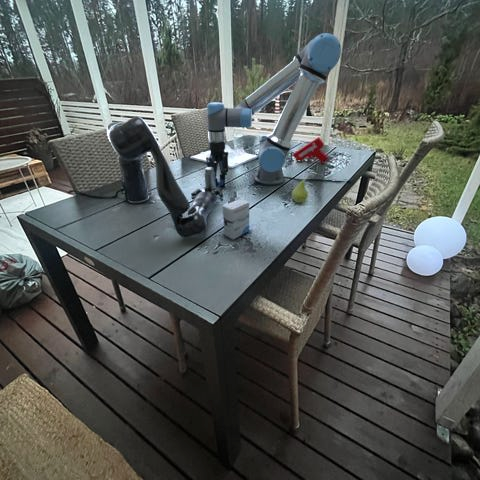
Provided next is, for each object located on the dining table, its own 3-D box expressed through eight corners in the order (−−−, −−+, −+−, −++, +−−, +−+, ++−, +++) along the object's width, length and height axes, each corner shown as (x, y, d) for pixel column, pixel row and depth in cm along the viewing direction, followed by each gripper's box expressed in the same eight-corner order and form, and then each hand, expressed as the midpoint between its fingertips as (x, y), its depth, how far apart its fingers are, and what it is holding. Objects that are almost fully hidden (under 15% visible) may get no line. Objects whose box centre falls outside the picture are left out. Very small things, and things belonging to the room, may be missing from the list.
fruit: (288, 200, 123) (290, 174, 116) (302, 197, 125) (305, 172, 119) (296, 206, 118) (299, 179, 111) (310, 203, 120) (314, 177, 114)
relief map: (232, 168, 162) (231, 159, 159) (190, 158, 179) (189, 150, 177) (257, 157, 180) (257, 149, 177) (217, 149, 198) (217, 142, 195)
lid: (223, 182, 136) (223, 178, 135) (223, 185, 132) (223, 182, 131) (213, 182, 136) (213, 178, 135) (213, 186, 132) (213, 182, 131)
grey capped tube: (212, 206, 119) (210, 170, 110) (204, 204, 121) (201, 168, 112) (218, 202, 122) (216, 167, 113) (210, 200, 124) (208, 166, 115)
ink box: (240, 226, 103) (240, 197, 97) (249, 231, 100) (250, 202, 94) (223, 234, 98) (222, 205, 92) (232, 240, 95) (232, 209, 89)
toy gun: (331, 157, 168) (319, 136, 164) (331, 159, 164) (318, 137, 160) (306, 172, 178) (294, 153, 174) (305, 174, 174) (292, 154, 170)
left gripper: (220, 196, 103) (227, 180, 117) (184, 194, 105) (195, 179, 119) (221, 214, 107) (228, 196, 121) (186, 212, 109) (197, 195, 123)
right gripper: (223, 136, 131) (224, 182, 144) (197, 143, 119) (201, 192, 131) (235, 138, 127) (235, 185, 140) (209, 146, 115) (212, 196, 128)
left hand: (212, 188), depth 120 cm, fingers closed on grey capped tube, 4 cm apart
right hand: (219, 188), depth 136 cm, fingers closed on lid, 5 cm apart
